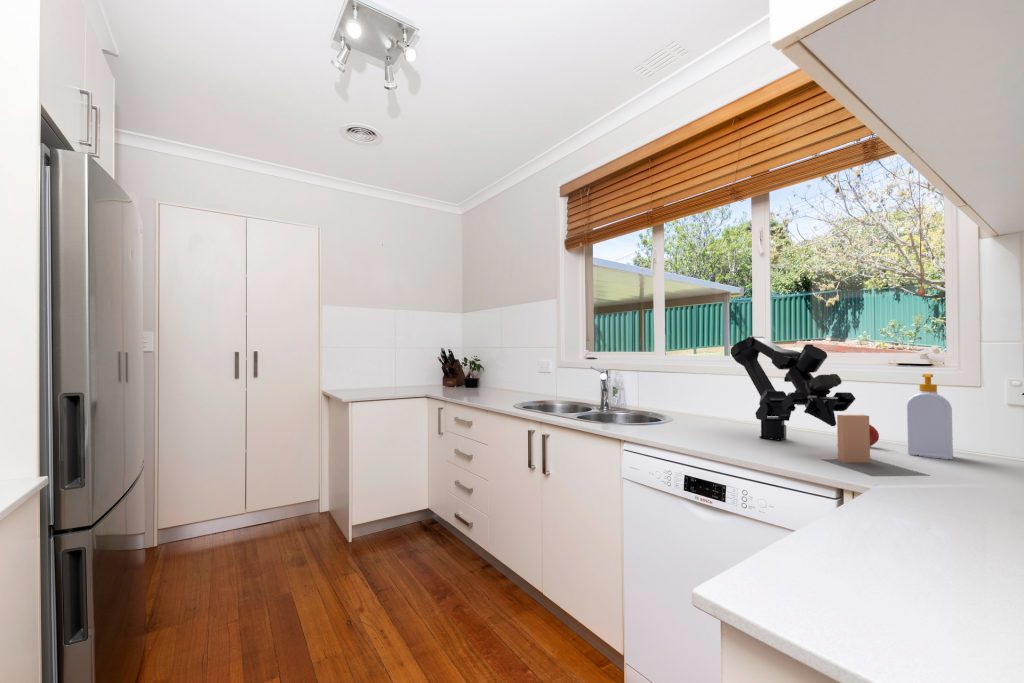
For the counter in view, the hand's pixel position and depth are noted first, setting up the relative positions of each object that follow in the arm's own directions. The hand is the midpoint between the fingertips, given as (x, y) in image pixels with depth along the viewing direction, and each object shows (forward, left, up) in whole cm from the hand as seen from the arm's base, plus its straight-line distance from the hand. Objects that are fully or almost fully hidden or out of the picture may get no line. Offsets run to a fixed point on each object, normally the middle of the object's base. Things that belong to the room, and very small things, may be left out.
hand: (834, 425), depth 121 cm
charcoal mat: (+9, -8, -9) cm, 15 cm away
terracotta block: (+5, -4, -8) cm, 11 cm away
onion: (+3, +23, -9) cm, 25 cm away
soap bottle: (+17, +22, -9) cm, 30 cm away
